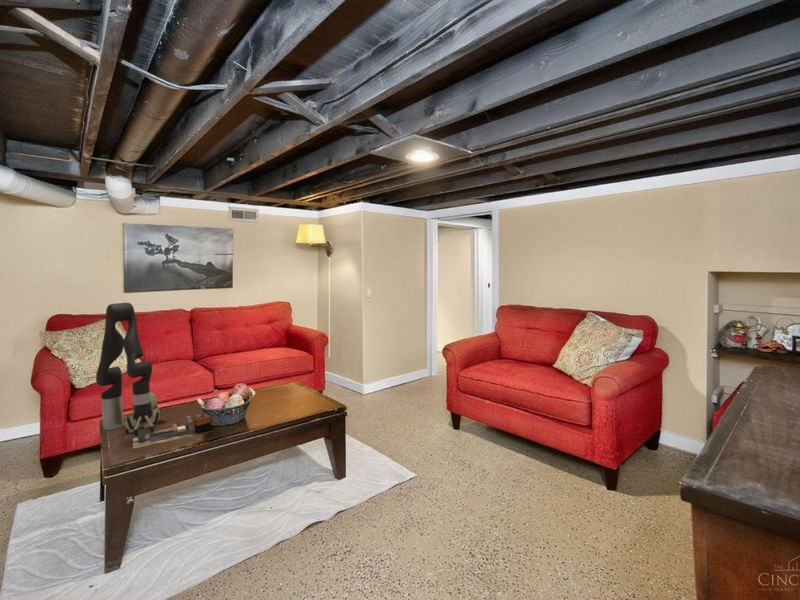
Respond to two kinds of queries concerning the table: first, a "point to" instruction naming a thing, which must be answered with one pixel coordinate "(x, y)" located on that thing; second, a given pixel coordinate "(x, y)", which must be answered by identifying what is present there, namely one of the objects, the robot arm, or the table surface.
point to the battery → (202, 423)
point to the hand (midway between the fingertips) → (144, 434)
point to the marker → (181, 428)
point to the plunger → (143, 435)
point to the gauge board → (166, 436)
